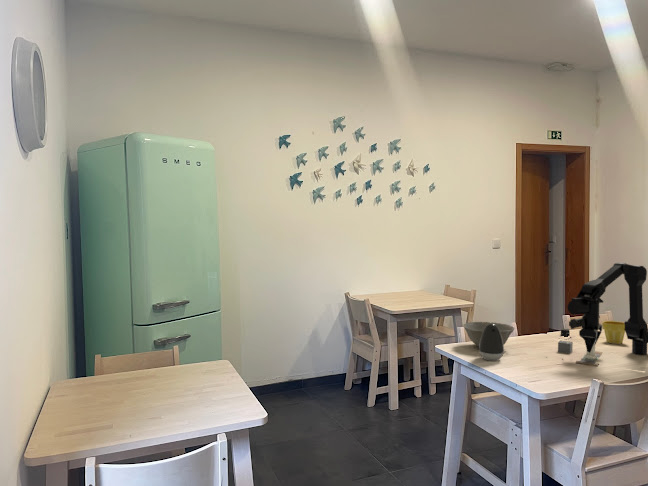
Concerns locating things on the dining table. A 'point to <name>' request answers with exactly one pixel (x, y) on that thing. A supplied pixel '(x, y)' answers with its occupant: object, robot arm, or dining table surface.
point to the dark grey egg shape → (491, 343)
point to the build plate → (565, 332)
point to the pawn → (591, 354)
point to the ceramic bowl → (477, 328)
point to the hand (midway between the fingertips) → (590, 349)
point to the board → (590, 360)
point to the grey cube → (565, 346)
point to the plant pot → (614, 331)
